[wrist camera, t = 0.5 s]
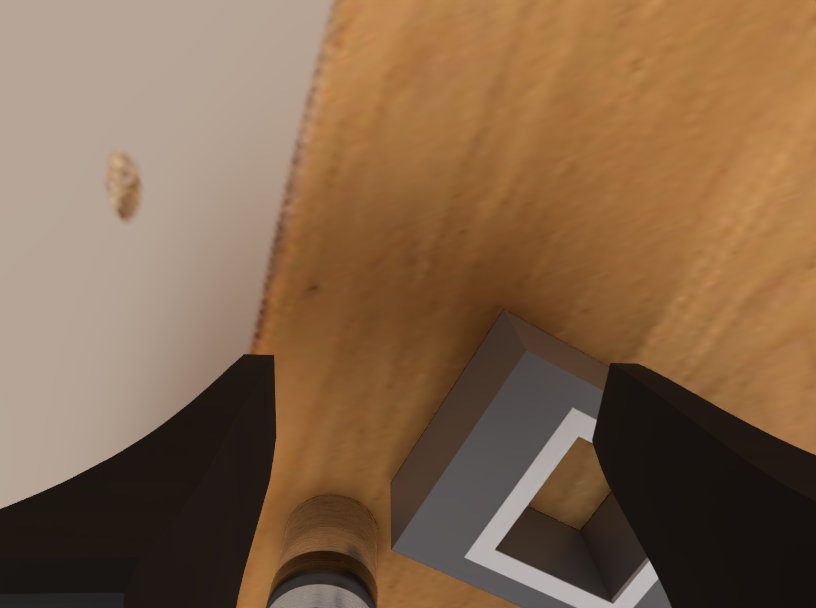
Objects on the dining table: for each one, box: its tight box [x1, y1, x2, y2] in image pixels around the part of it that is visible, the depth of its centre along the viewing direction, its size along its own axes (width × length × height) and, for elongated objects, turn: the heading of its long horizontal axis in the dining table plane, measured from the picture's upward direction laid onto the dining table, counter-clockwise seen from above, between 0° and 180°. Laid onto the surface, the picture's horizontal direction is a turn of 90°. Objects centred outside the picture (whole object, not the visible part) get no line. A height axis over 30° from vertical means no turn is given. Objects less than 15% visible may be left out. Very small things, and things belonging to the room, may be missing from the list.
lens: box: [266, 495, 378, 608], centre depth 23 cm, size 4×4×6 cm
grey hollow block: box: [391, 309, 672, 608], centre depth 23 cm, size 9×12×4 cm
